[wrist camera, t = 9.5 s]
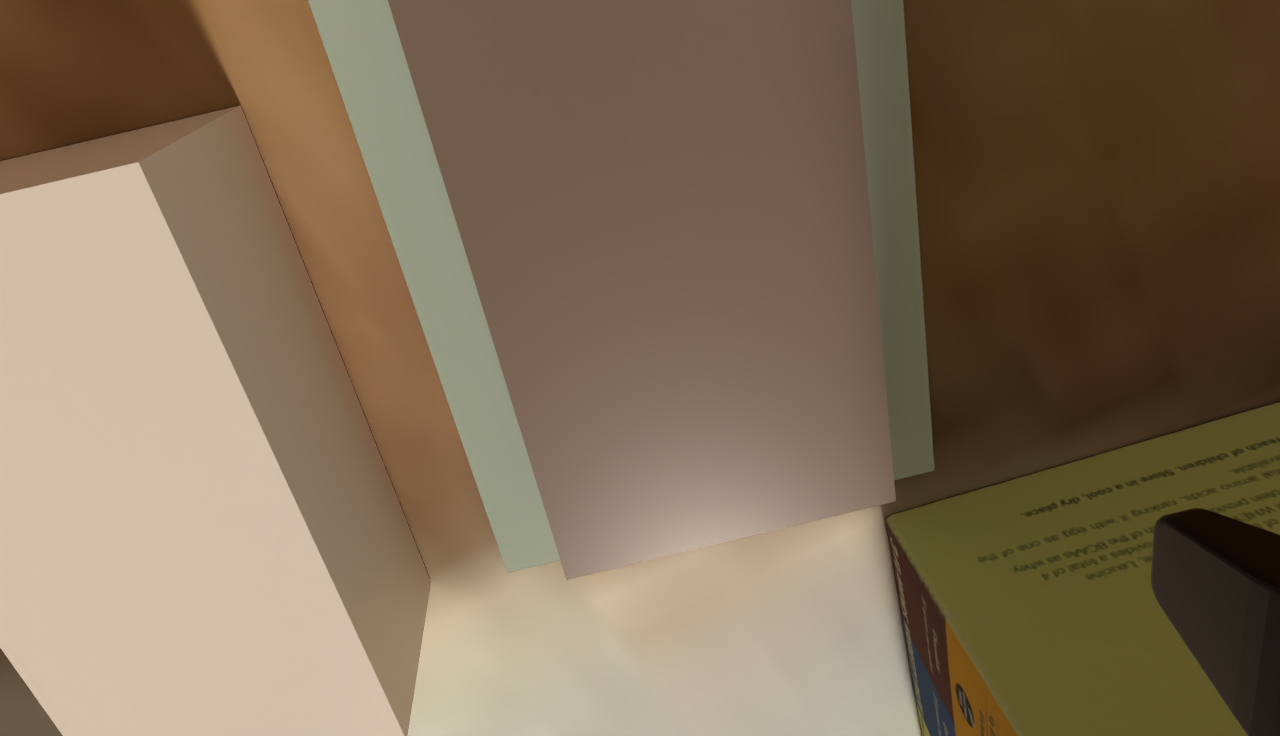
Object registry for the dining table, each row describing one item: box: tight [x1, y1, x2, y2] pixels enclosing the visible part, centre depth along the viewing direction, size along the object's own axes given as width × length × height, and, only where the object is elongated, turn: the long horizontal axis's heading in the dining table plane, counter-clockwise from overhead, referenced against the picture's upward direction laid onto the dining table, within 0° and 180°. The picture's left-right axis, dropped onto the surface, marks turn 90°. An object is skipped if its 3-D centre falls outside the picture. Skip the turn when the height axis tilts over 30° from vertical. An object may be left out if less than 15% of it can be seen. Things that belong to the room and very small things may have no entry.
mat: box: [308, 0, 935, 573], centre depth 19 cm, size 11×16×1 cm
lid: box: [388, 0, 896, 580], centre depth 17 cm, size 7×13×2 cm, turn 11°
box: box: [0, 106, 431, 736], centre depth 17 cm, size 6×12×5 cm, turn 12°
